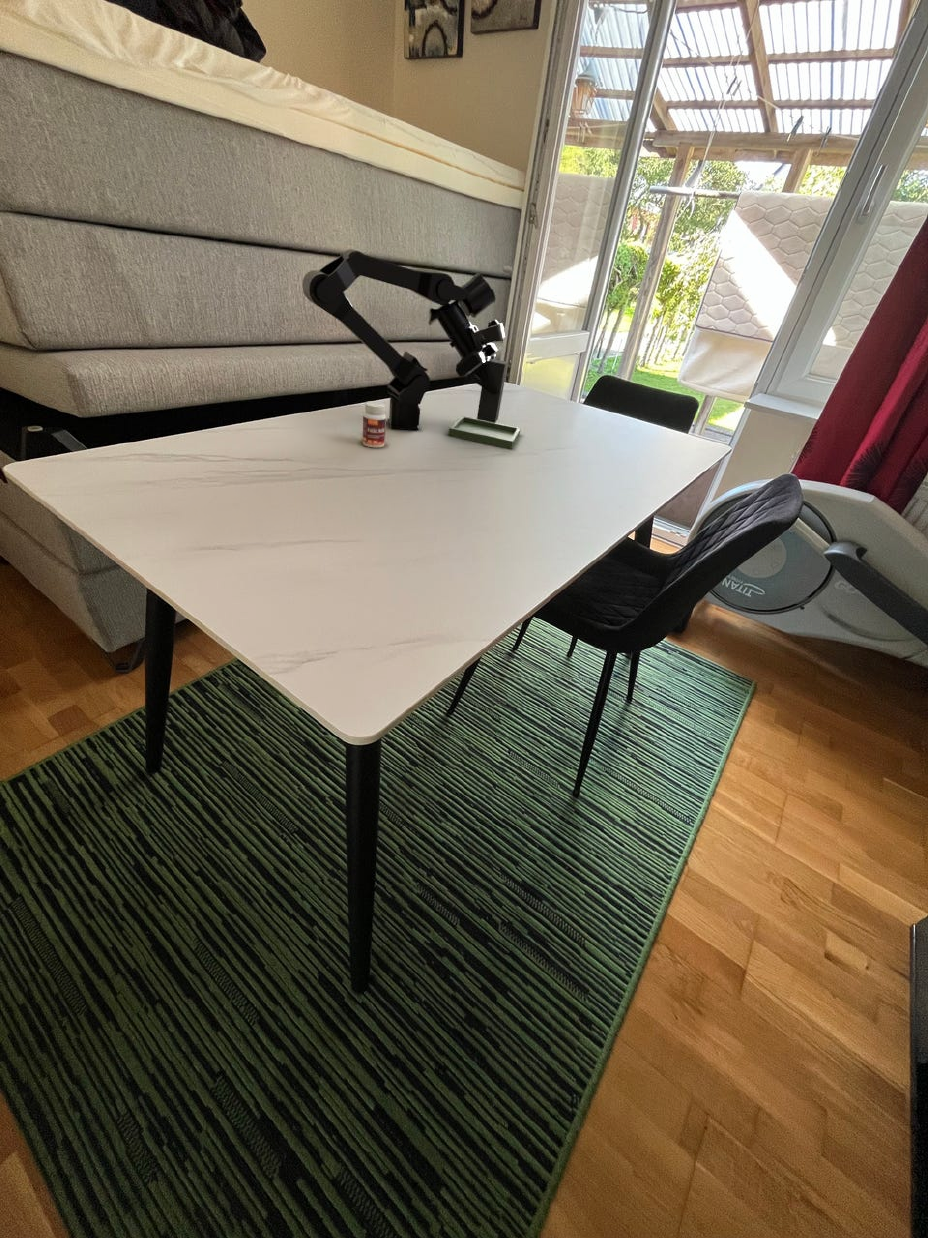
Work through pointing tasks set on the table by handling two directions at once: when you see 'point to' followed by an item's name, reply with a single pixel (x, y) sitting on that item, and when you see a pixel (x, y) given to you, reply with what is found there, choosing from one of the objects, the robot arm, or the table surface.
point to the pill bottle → (374, 424)
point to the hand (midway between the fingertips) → (497, 391)
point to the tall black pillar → (488, 401)
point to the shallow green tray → (485, 432)
